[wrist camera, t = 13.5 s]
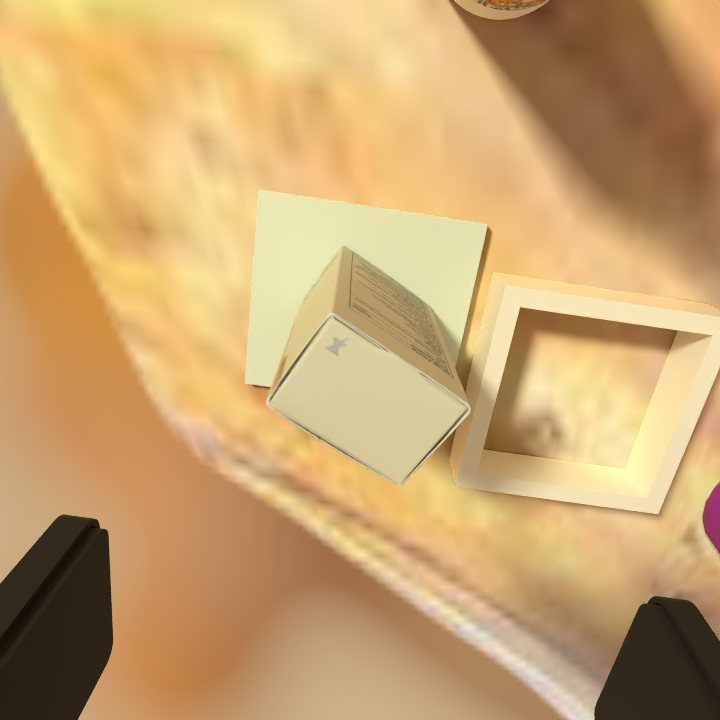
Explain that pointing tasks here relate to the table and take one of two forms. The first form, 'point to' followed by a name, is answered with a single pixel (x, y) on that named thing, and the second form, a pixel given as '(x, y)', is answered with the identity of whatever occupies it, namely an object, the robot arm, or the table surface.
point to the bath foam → (500, 7)
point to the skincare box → (369, 371)
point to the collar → (659, 428)
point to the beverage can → (713, 517)
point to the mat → (369, 240)
